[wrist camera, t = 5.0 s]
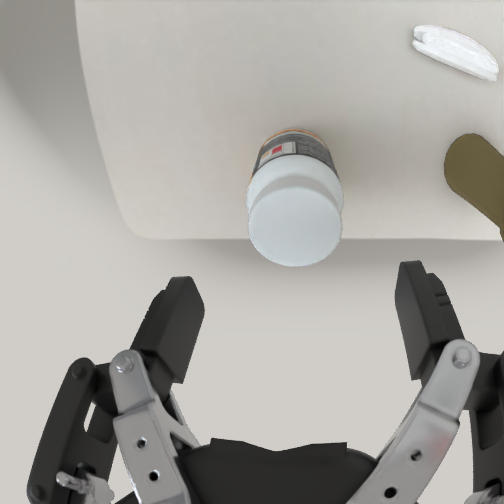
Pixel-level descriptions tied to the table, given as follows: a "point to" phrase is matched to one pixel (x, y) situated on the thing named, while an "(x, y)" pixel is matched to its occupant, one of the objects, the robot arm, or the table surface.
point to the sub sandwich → (455, 51)
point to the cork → (477, 176)
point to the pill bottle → (294, 199)
